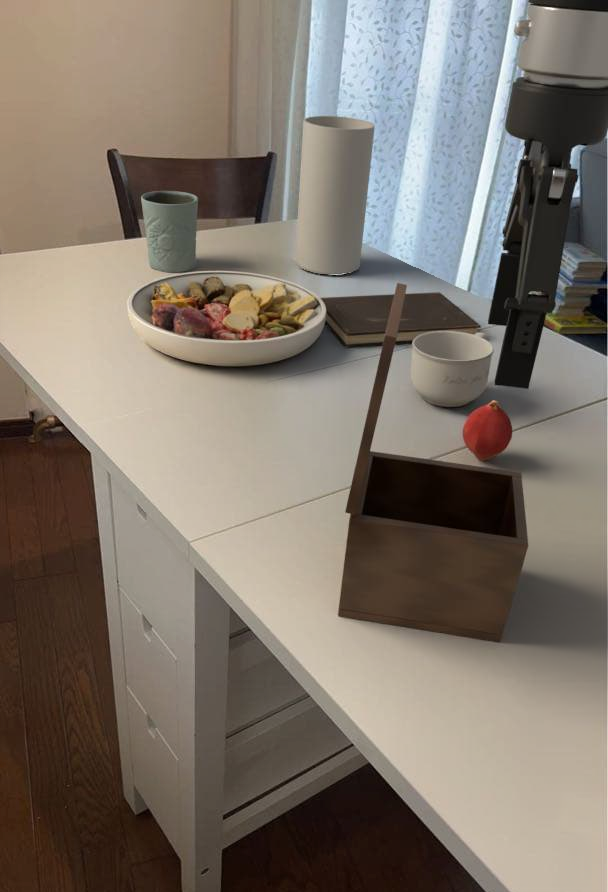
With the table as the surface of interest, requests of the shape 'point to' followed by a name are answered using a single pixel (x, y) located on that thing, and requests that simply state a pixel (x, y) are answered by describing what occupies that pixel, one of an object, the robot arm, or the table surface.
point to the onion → (487, 431)
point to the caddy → (435, 546)
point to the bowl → (226, 317)
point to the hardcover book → (369, 315)
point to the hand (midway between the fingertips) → (506, 352)
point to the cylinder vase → (333, 193)
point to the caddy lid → (376, 397)
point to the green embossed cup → (170, 229)
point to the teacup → (450, 366)
